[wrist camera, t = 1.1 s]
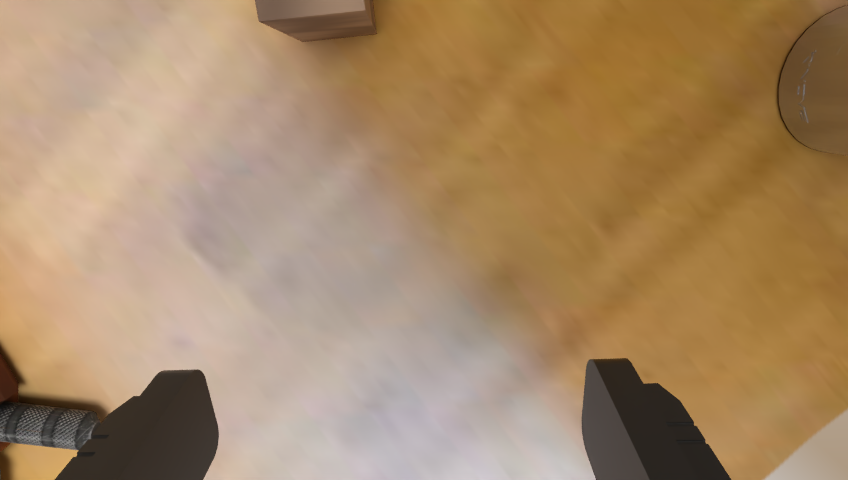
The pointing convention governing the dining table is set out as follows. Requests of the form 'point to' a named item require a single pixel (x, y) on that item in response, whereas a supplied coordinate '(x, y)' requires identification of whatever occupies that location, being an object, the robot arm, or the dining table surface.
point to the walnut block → (318, 18)
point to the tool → (40, 420)
